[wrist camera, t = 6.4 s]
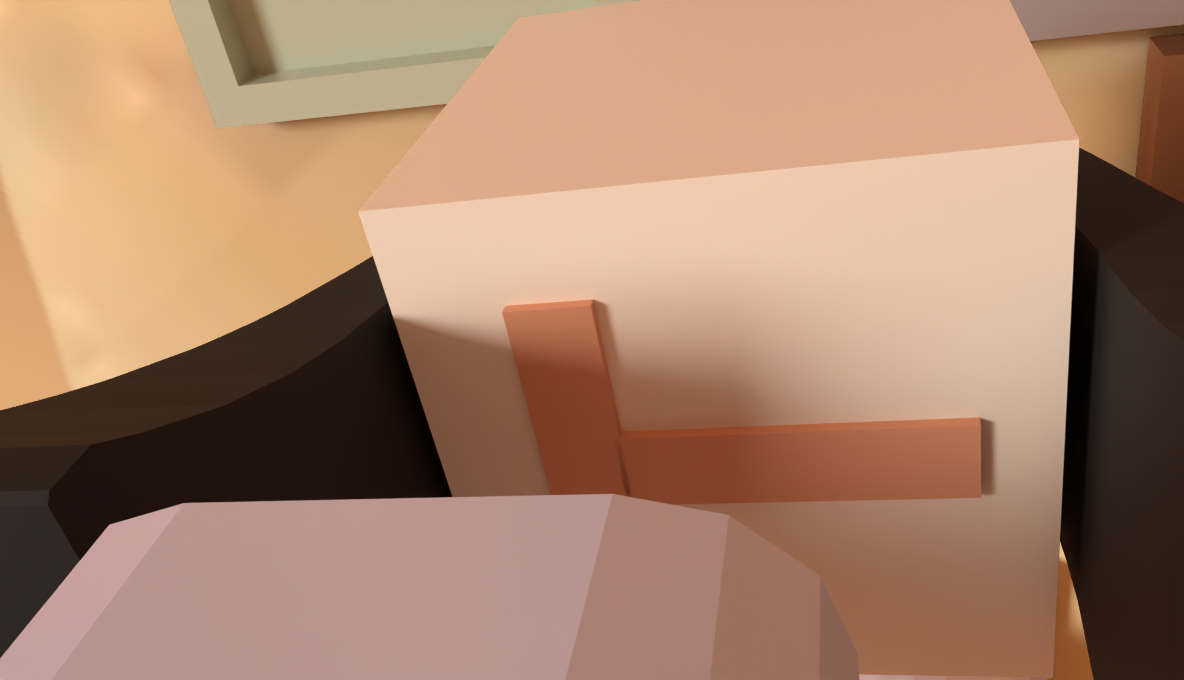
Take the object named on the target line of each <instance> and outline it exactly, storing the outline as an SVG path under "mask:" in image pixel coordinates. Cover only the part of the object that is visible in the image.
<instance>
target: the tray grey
mask: <svg viewBox="0 0 1184 680" xmlns="http://www.w3.org/2000/svg"><path fill="white" fill-rule="evenodd" d="M1010 2H1011V4H1012V6H1013V8H1014V10H1015V12H1016V14H1017V16H1018V18H1019V20H1020V22H1021V24H1022V26H1023V28H1024V30H1025V32H1026V34H1027V36H1028V38H1029V40H1030V41H1036V40H1046V39H1055V38H1064V37H1074V36H1083V35H1092V34H1101V33H1111V32H1120V31H1129V30H1139V29H1148V28H1157V27H1167V26H1176V25H1184V0H1010Z"/></svg>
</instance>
